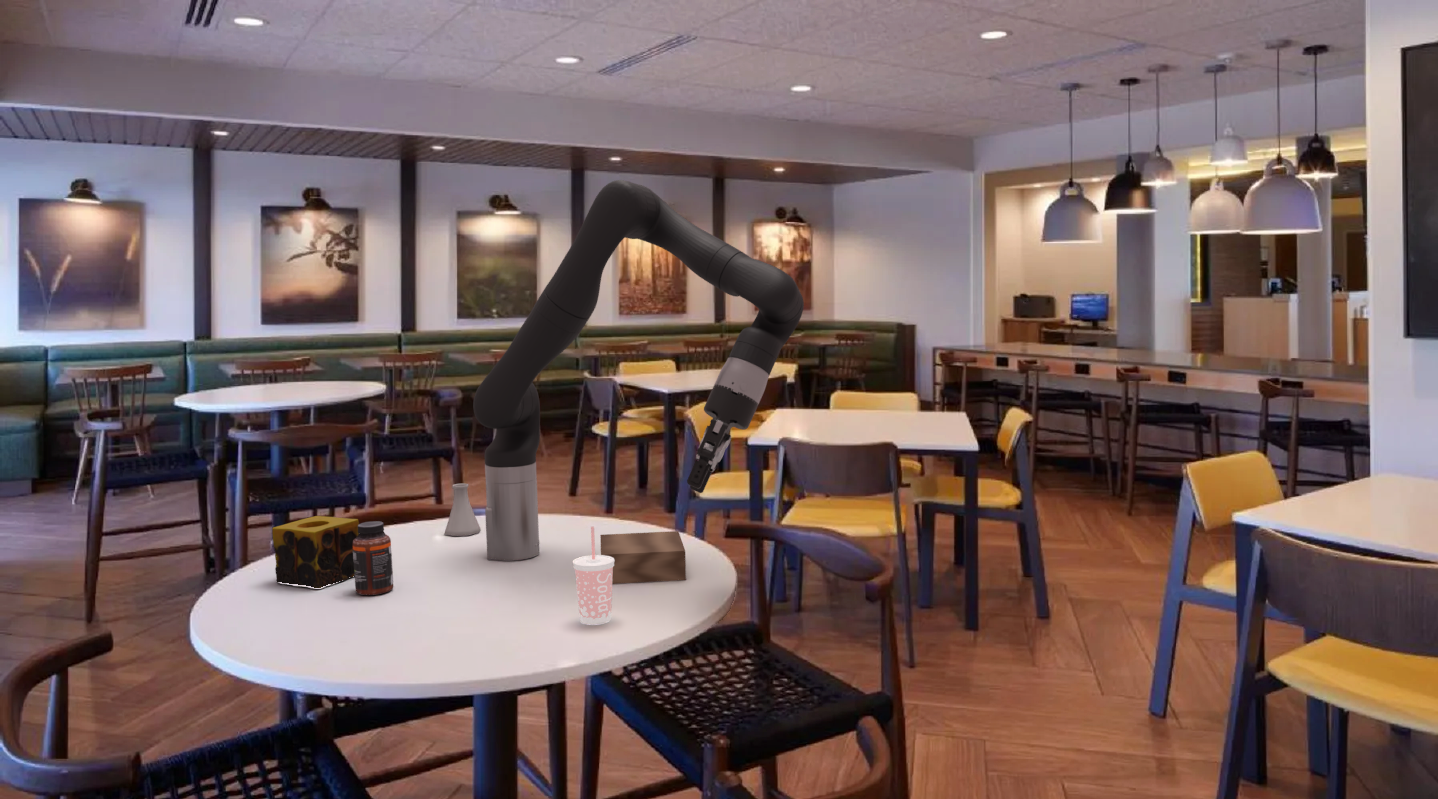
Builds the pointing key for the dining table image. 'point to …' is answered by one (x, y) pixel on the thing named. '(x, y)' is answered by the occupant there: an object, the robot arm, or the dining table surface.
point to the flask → (461, 514)
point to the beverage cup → (594, 586)
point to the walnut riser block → (645, 556)
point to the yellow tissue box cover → (315, 550)
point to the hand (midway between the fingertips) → (694, 488)
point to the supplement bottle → (372, 559)
